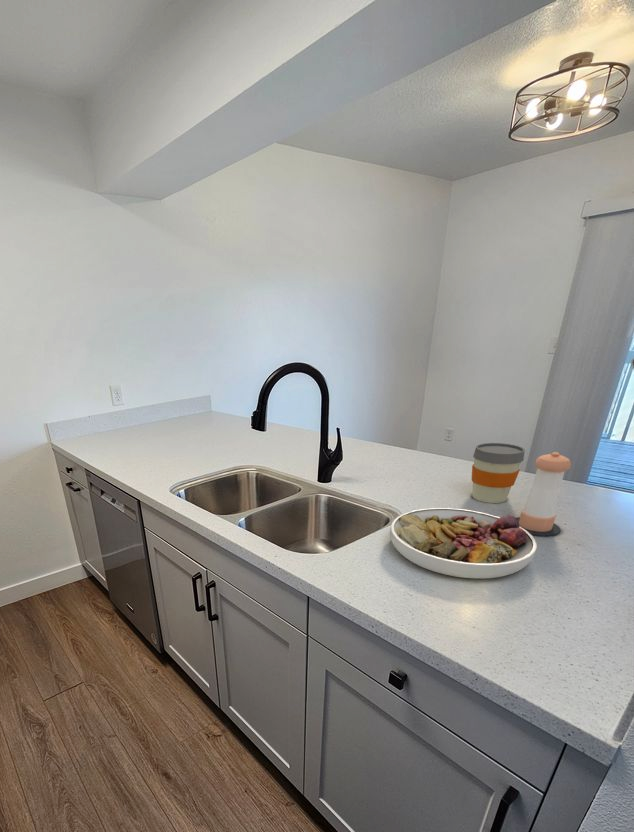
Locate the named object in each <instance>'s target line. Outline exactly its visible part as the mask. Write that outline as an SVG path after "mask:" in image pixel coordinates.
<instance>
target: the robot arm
mask: <svg viewBox="0 0 634 832" xmlns="http://www.w3.org/2000/svg"><path fill="white" fill-rule="evenodd" d="M630 363H631V366H632V370H634V357H633V358H631V360H630Z"/></svg>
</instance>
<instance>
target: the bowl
mask: <svg viewBox="0 0 634 832" xmlns="http://www.w3.org/2000/svg"><path fill="white" fill-rule="evenodd" d="M516 518H517V517H516V516H514V515H509V514H508V515H504V516H496V515H493V514H489V513H486V512H481V511H476V510H470V509H464V508H451V507H430V508H429V507H427V508H420V509H415V510H414V509H413V510H411V511H407V512H404V513H402V514H400V515H398V516H396V517H395V518H394V520H393V521H392V522H391V524H390V529H389V532H390V533H389V534H390V541H391V542H392V545H393V546H394V548H395V549H396V550H397V552H399V553H400V555H401V556H403V557H404V558H405V559H407V560H408V561H409V562H411V563H413V564H415V565H416V566H419V567H421V568H424V569H426V570H429V571H431V572H435V573H437V574H441V575H445V576H450V577H456V578H462V579H463V578H465V579H479V580H480V579H495V578H501V577H505V576H509V575H512V574H514V573H517V572H519V571H522V569H524V568H525V567H526V566H528V565H529V564H530V563H531V562H532V560H534V557H535V555H536V553H537V548H538V543H537V540H536V539H535V538H534V535H531V534H530V533H529V532H528V531H526V530H525V529H523V528H522V527H520V526H519V522H518V520H517V519H516Z"/></svg>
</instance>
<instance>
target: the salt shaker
mask: <svg viewBox="0 0 634 832" xmlns="http://www.w3.org/2000/svg"><path fill="white" fill-rule="evenodd" d="M571 463H572V462H571V460H570V458H569V457H566V456H564V455H561V454H560V453H559V452H557V451H554V452H551V453H548V454H543V455H540V456H539V457H537V458H536V460H535V462H534V466H535V468H536V472H535V476H534V480H533V482H532V486H531V488H530V489H529V492H528V494H527V496H526V499H525V504H524V506H523V509H522V510H521V511H520V516H519V517H520V519H519V525H520V526H521V527H523V528H525V529H528V530H532V531H539V532H546V531H550V530H551V529H552V527H553V524H555V520H556V517H557V516H556V511H557V509H558V505H559V498H560V490H561V486H562V483H563V479H564V475H565V472H568V470H569V469H570V468H571V466H572V464H571Z"/></svg>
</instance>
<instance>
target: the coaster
mask: <svg viewBox="0 0 634 832" xmlns="http://www.w3.org/2000/svg"><path fill="white" fill-rule="evenodd" d="M516 519H517V520H518V522H519V519H520V516H517V517H516ZM519 526H520V525H519ZM520 527H521V526H520ZM522 528H523V527H522ZM523 529H525V528H523ZM525 530H526V531H528V532H529V533H530V534H531V535H532V536H533V537H534V536H535V537H553V536H557V535H559V534H560V533H561V527H560V526H559V525H558V524H556V523H554V524H553V527H552V529H551V530H550V531H546V532H539V531H532V530H528V529H525Z"/></svg>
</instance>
